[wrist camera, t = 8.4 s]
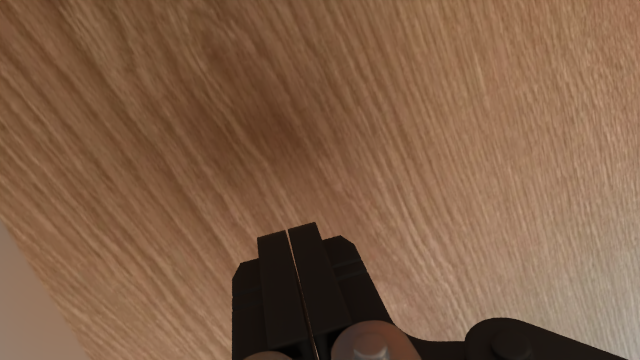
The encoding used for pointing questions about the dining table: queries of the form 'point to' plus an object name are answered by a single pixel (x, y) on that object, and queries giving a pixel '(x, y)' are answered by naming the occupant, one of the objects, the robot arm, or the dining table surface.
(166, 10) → the dining table surface
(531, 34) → the dining table surface
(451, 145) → the dining table surface
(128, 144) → the dining table surface
